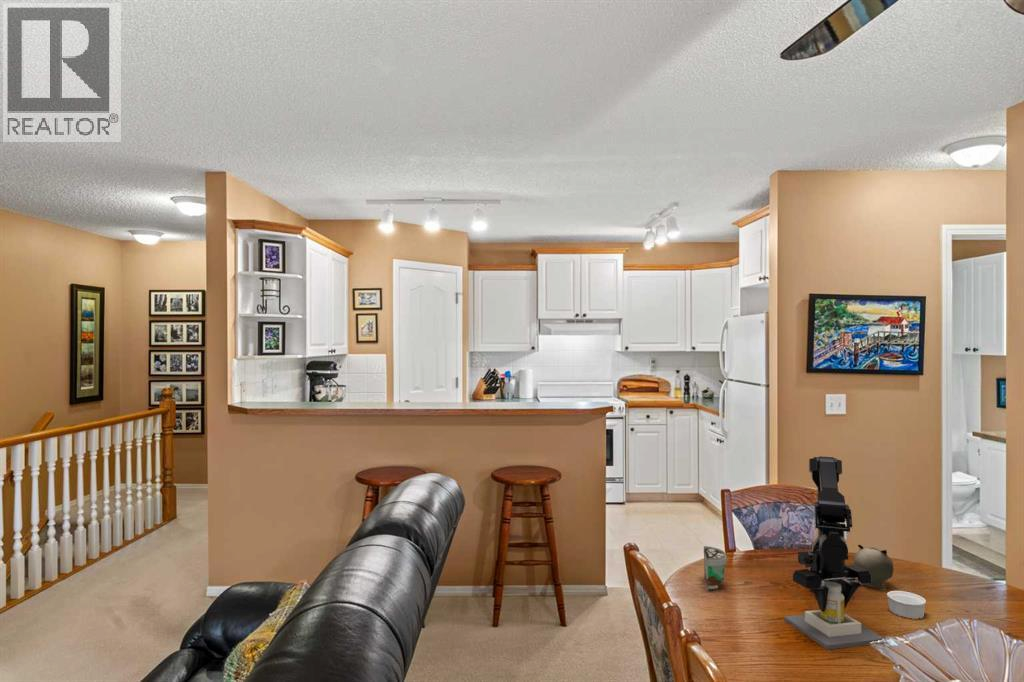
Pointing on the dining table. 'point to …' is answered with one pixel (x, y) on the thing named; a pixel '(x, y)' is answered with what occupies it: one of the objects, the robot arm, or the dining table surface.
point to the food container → (714, 568)
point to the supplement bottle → (833, 604)
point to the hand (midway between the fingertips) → (832, 610)
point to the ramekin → (906, 604)
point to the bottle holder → (832, 630)
